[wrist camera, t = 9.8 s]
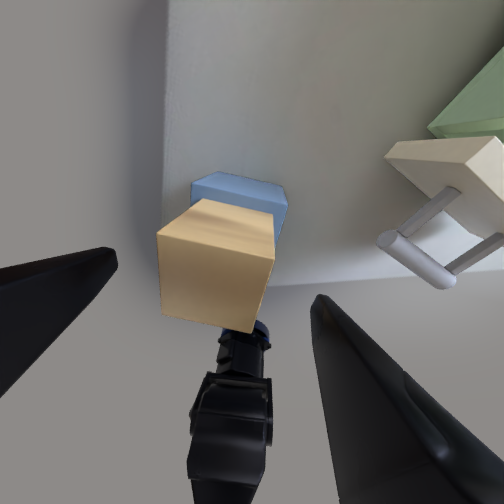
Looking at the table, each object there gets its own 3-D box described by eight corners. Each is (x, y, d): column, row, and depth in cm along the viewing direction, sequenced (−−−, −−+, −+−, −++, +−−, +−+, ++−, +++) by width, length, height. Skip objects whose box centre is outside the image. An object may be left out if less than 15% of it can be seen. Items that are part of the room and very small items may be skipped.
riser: (266, 243, 18) (265, 280, 13) (211, 231, 18) (188, 264, 13) (282, 186, 15) (288, 205, 10) (217, 171, 15) (190, 182, 10)
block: (257, 271, 13) (251, 334, 8) (198, 258, 13) (160, 315, 8) (273, 213, 11) (275, 259, 6) (202, 197, 10) (155, 232, 6)
